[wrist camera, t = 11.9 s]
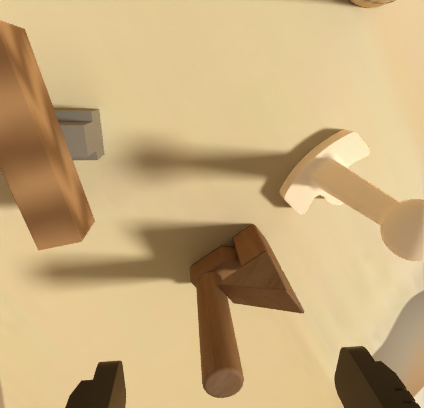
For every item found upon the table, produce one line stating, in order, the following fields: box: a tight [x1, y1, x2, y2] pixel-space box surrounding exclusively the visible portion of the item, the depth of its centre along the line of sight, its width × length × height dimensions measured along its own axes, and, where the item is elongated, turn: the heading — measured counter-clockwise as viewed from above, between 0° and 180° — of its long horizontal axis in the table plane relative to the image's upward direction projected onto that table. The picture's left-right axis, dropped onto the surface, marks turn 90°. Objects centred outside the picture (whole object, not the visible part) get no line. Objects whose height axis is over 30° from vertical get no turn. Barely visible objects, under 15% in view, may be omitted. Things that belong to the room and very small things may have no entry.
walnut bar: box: [0, 21, 95, 250], centre depth 27 cm, size 18×4×4 cm, turn 10°
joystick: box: [279, 130, 424, 261], centre depth 30 cm, size 11×8×20 cm
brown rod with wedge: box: [190, 224, 304, 398], centre depth 34 cm, size 4×11×18 cm, turn 126°
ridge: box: [54, 109, 104, 160], centre depth 31 cm, size 5×8×6 cm, turn 89°
